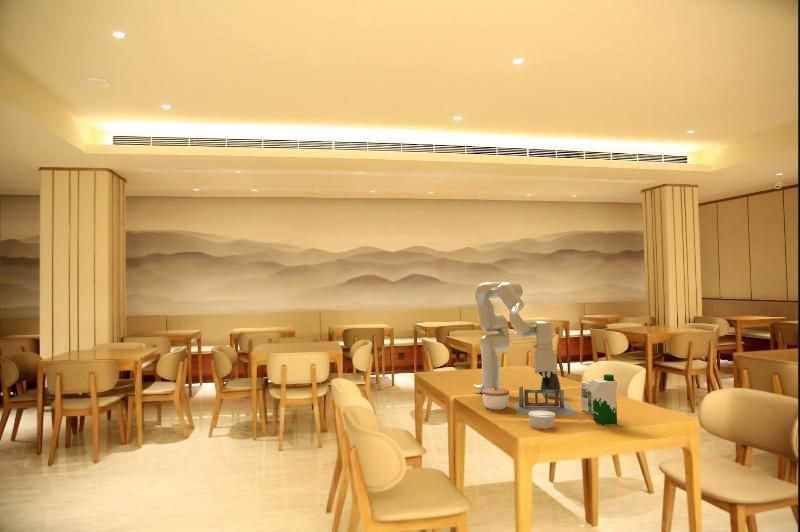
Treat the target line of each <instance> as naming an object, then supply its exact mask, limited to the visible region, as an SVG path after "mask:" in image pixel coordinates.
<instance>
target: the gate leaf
mask: <svg viewBox="0 0 800 532" xmlns="http://www.w3.org/2000/svg"><path fill="white" fill-rule="evenodd" d="M542 393H545V397H544V402H539V400H538V394H542ZM548 393H555V398H554V402H548V401H549V400H548V399H549V398H548ZM529 394H534V400H535V401H534V402H532V401H531V402H529ZM523 401H524V404H525V406H556V407H559V403H560V396H559V390H540V389H528V388H527V389H525V388H523ZM538 402H539V403H538Z"/></svg>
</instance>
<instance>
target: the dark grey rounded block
mask: <svg viewBox="0 0 800 532" xmlns="http://www.w3.org/2000/svg"><path fill="white" fill-rule="evenodd" d="M544 373H545V376H547V371H544ZM557 373H558V372H557ZM557 373H555V374H552V375H551V376H550V378H549V379H550V384H548V385H549V386H545V385H544V384H543V377H542V376H541V382H540V387H539V388H540V389H539V390H562V389H561V382H560V378H559V377H558V374H557ZM541 395H542V396H543V397H544V398H545V393H541ZM552 398H553V399H555V393H548V399H552Z"/></svg>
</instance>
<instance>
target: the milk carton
mask: <svg viewBox="0 0 800 532" xmlns="http://www.w3.org/2000/svg"><path fill="white" fill-rule="evenodd" d="M591 381H592V387H593V413H592V414H593V421H594V422H595V421H596V422H595V423H597V424H598V425H600V424H601V426H605V425H604V424H615V425H618V409H617V406H618V404H617V388H618V381H616V379H615V375H613V374H603V378H592V379H591Z"/></svg>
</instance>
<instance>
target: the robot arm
mask: <svg viewBox="0 0 800 532" xmlns="http://www.w3.org/2000/svg"><path fill="white" fill-rule="evenodd" d="M523 293H524V290H523V287H522V285H520V283H518V282H506V281H497V282H495V281H490V282H489V281H488V282H482V283H480V284H478V285H477V286H476V289H475V292H474V294H475V301H476V305H477V309H478V311H477V312H478V319H479V320H478V321H479V325H480V326H479V327H480V329H481V331H483V332H484V333H490V334H486V335H483V336H482V337H481V338H480V339H479V348H480V355H481V384H478V385H477V384H473V389H476V390H479V393H480V392H481V393H482V390H483V389H486V388H494V386H497V388H501V369H500V363H501V362H500V358H499V355H498V353H497V352H503V351H507V350H508V349H509V347H510V346H511V345H510V344H511V340H510V331H509V330H510V329H509V324H508V320H509V322H510V325H511V327H512V328H513V329H514V331H515V333H516V334H518V335H519V336H520V337H523V338H525V337H534V336H535V339H536V340H535V344H533V349H535V351H534V374H537V375H540V376H541V378H542V377H543V384H544V385H545V386H549V385H548V384H550V379H549V378H550V376H551V375H552V374H555V373H558V364H557V355H556V351H555V349H554V345H553V325H552V322H551V321H545V320H544V321H541V320H524V319H523V318H522V317H521V315H520V313H519V312H520V311H522V309H524V307H525V303H524V301H523V299H522V298H521V297H522V296H523ZM491 298H492V299H493V298H496V299H499V298H500V300H501V301H502V303H503V304H504V305H505V307H506V308H507V309H508V311H509V314H508V316H509V319H507V317H506V316H505V315H504V314H502V313H495V307H494V304H493V302H492V301H491V300H490V299H491ZM492 332H495V333H492ZM545 371H547V376H545V373H544V372H545ZM481 393H480V394H481Z"/></svg>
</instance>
